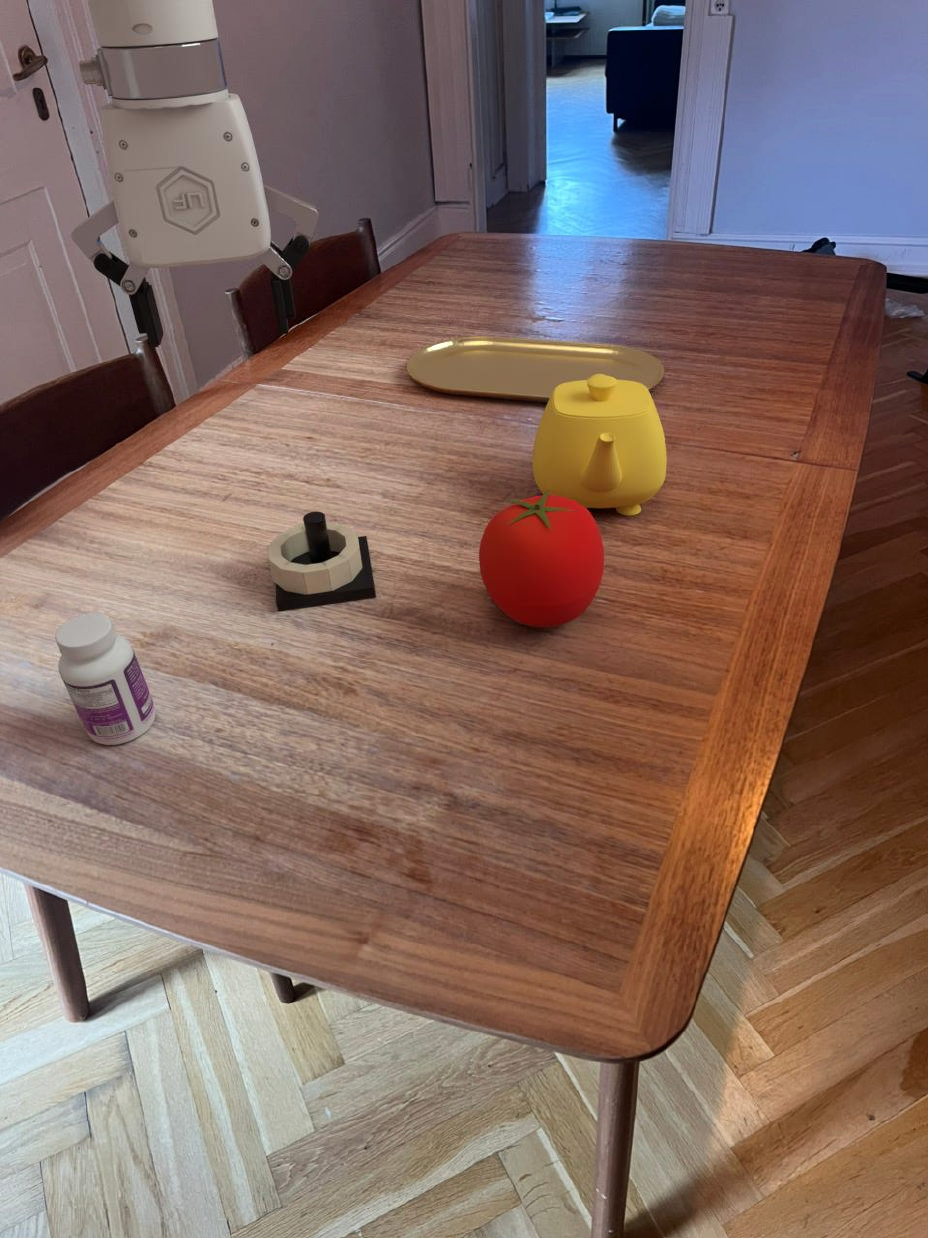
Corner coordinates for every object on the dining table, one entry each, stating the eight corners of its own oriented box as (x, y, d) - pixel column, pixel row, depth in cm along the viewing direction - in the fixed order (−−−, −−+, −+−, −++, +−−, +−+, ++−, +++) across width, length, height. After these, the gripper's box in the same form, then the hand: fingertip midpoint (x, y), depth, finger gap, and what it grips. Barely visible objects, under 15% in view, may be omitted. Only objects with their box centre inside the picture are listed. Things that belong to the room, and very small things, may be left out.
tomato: (628, 607, 78) (636, 500, 72) (547, 664, 73) (547, 555, 66) (540, 562, 84) (540, 460, 78) (460, 611, 79) (452, 507, 72)
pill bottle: (125, 692, 73) (88, 598, 67) (171, 713, 70) (137, 617, 65) (72, 734, 69) (28, 638, 63) (119, 757, 67) (78, 660, 61)
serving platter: (650, 417, 108) (651, 405, 107) (386, 393, 118) (385, 382, 117) (673, 359, 122) (674, 348, 121) (435, 342, 132) (434, 332, 131)
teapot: (656, 455, 100) (665, 345, 92) (673, 553, 84) (686, 431, 77) (534, 456, 101) (533, 347, 94) (529, 553, 86) (527, 432, 78)
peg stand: (277, 611, 81) (263, 550, 76) (277, 558, 88) (264, 499, 83) (376, 597, 81) (367, 535, 77) (367, 545, 88) (359, 486, 84)
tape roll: (272, 600, 80) (267, 577, 78) (272, 550, 87) (267, 528, 85) (365, 586, 81) (361, 564, 79) (358, 538, 87) (354, 516, 86)
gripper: (15, 92, 54) (98, 364, 64) (300, 72, 56) (336, 339, 66) (41, 79, 60) (112, 330, 70) (297, 61, 62) (330, 308, 72)
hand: (221, 334), depth 68 cm, fingers open, 9 cm apart
